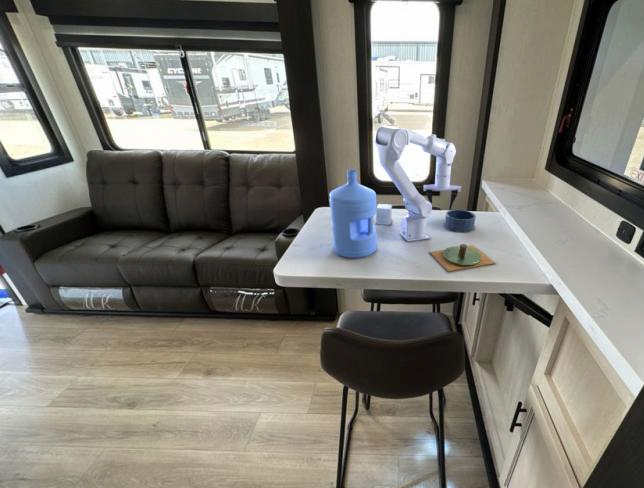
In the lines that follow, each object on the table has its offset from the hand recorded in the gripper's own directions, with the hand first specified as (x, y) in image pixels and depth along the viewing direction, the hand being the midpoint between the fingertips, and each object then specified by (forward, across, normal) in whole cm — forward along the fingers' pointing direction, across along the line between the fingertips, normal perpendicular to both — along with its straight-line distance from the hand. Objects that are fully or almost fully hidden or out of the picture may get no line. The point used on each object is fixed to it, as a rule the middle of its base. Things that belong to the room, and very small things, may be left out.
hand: (440, 208), depth 125 cm
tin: (+10, -9, -5) cm, 14 cm away
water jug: (+8, +31, +24) cm, 40 cm away
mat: (+9, -8, +25) cm, 27 cm away
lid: (+8, -8, +25) cm, 27 cm away
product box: (+9, +24, -4) cm, 26 cm away
